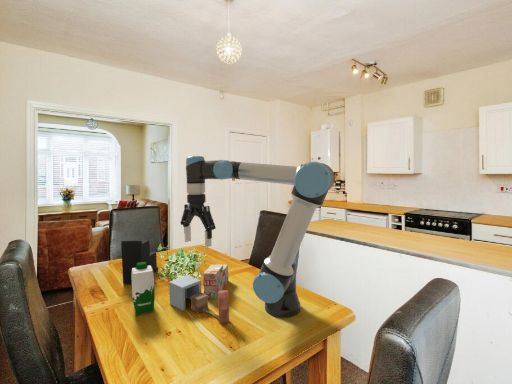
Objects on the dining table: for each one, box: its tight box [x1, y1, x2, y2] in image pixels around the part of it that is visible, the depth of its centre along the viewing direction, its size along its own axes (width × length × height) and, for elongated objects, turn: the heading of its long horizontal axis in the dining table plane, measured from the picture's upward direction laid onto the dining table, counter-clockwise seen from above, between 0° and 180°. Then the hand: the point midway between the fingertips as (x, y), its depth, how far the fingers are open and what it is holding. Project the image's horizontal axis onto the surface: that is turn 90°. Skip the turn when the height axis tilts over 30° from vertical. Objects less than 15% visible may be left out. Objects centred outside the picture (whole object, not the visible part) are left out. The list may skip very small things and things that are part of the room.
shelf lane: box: [168, 275, 202, 312], centre depth 124 cm, size 10×10×10 cm
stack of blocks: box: [202, 264, 229, 300], centre depth 139 cm, size 21×6×12 cm, turn 171°
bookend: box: [120, 239, 159, 285], centre depth 158 cm, size 23×11×24 cm, turn 179°
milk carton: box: [131, 262, 156, 316], centre depth 118 cm, size 9×9×20 cm
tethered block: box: [190, 289, 230, 325], centre depth 114 cm, size 20×5×12 cm, turn 49°
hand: (197, 243), depth 116 cm, fingers open, 13 cm apart
